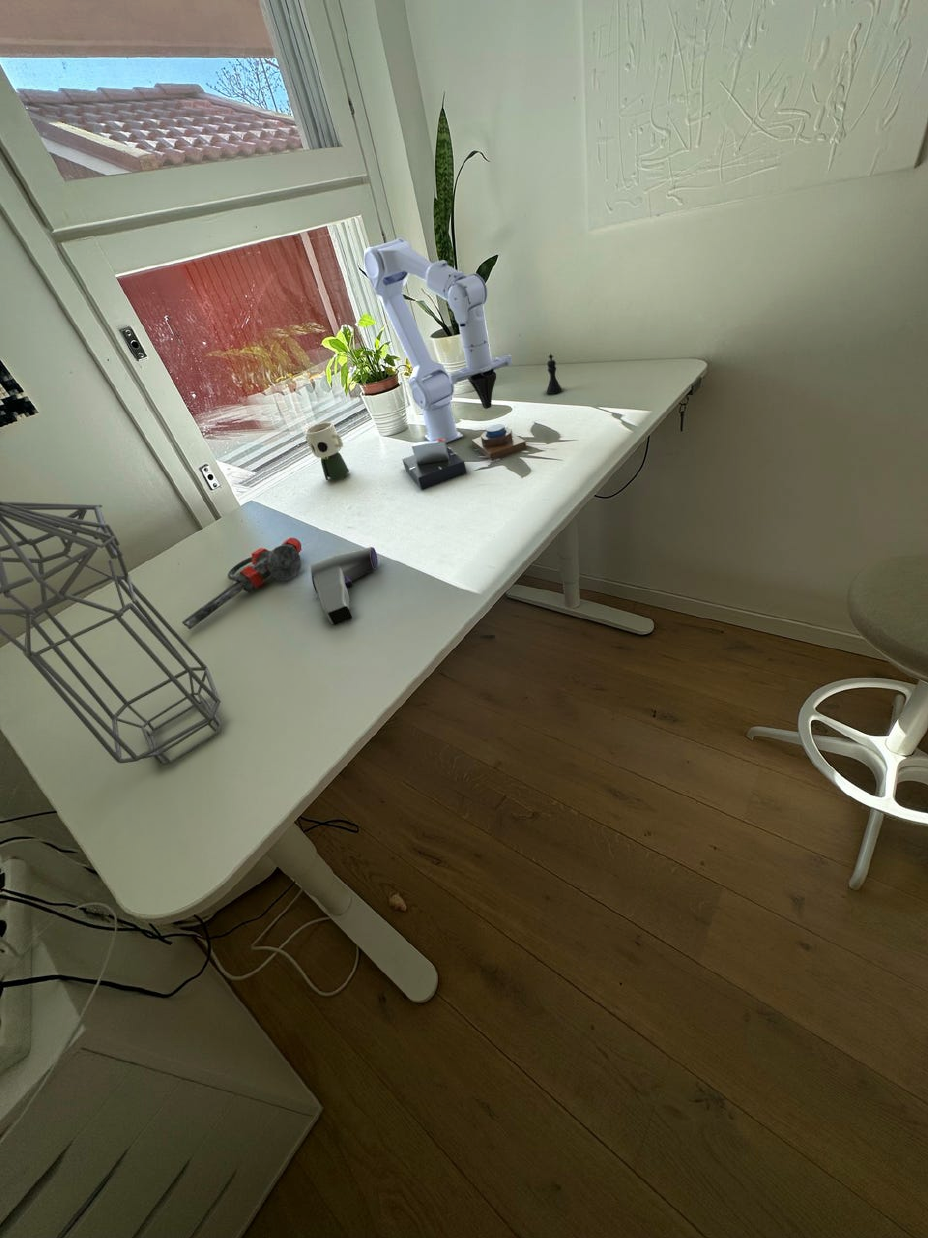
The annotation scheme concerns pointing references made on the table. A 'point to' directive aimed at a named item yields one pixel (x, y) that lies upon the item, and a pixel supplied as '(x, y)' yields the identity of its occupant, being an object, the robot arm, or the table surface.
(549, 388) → the chess piece
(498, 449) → the button block
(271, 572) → the chainsaw
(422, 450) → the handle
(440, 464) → the tap deck
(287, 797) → the table surface
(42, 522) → the geometric lantern
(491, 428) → the button
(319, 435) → the character mug
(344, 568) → the infrared thermometer
